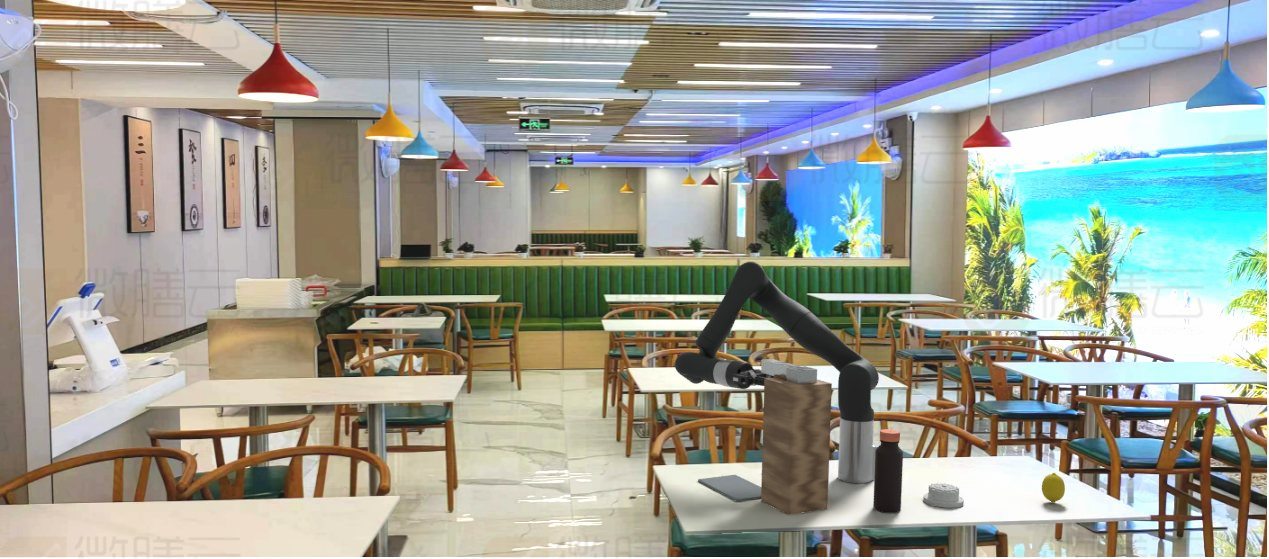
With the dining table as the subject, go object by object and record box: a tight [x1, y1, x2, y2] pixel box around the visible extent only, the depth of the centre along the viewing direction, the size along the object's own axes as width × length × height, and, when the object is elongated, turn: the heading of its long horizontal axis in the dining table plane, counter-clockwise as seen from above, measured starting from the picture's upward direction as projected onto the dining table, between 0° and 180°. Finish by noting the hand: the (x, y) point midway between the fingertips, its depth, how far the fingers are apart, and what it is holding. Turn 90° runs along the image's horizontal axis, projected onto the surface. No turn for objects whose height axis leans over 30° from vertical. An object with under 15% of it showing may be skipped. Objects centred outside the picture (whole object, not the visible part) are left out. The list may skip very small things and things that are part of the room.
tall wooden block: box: [760, 374, 833, 516], centre depth 243 cm, size 12×12×33 cm
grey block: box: [760, 358, 818, 384], centre depth 246 cm, size 6×18×3 cm, turn 26°
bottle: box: [872, 428, 904, 514], centre depth 242 cm, size 7×7×20 cm
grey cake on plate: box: [922, 482, 965, 509], centre depth 249 cm, size 10×4×10 cm
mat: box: [697, 474, 761, 503], centre depth 258 cm, size 12×20×1 cm, turn 26°
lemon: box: [1041, 472, 1066, 503], centre depth 250 cm, size 6×6×8 cm
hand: (778, 380), depth 256 cm, fingers open, 8 cm apart
